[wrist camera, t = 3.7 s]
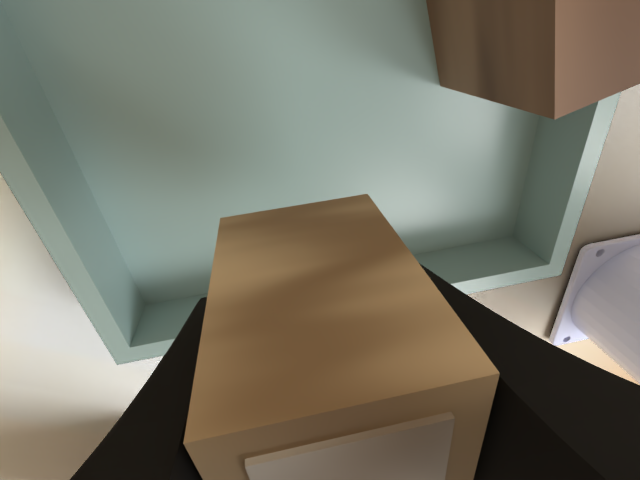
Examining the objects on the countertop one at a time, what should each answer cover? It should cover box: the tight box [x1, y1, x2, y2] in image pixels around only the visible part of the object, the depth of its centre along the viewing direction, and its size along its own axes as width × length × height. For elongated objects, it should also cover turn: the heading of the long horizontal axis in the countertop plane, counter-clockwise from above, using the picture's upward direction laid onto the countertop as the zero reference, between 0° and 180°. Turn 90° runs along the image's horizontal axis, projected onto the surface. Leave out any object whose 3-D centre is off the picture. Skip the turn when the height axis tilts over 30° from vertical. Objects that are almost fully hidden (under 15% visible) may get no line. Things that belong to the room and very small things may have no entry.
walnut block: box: [426, 0, 640, 120], centre depth 10 cm, size 4×4×6 cm
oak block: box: [183, 194, 500, 480], centre depth 8 cm, size 4×4×6 cm
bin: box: [0, 0, 621, 365], centre depth 13 cm, size 20×16×3 cm
